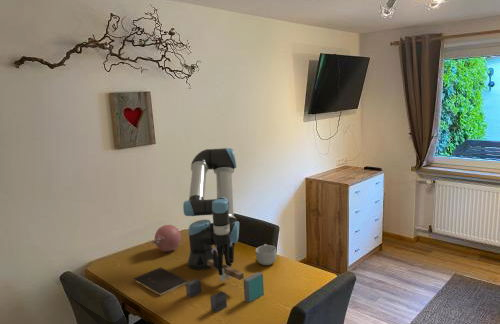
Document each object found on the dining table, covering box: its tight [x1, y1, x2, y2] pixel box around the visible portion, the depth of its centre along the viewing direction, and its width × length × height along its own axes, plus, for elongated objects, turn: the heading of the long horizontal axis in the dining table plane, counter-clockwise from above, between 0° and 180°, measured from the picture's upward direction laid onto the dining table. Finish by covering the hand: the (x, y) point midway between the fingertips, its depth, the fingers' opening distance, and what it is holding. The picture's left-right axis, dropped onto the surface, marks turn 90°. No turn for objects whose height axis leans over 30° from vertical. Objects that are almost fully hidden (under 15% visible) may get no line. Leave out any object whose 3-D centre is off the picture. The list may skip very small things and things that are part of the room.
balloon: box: [151, 224, 182, 252], centre depth 223 cm, size 15×20×15 cm
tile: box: [242, 271, 265, 303], centre depth 168 cm, size 3×9×10 cm, turn 134°
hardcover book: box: [133, 267, 189, 296], centre depth 188 cm, size 16×23×2 cm
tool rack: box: [185, 278, 228, 314], centre depth 168 cm, size 21×6×6 cm, turn 44°
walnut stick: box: [207, 259, 245, 281], centre depth 182 cm, size 24×2×2 cm, turn 44°
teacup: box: [254, 243, 277, 266], centre depth 204 cm, size 14×11×8 cm
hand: (225, 279), depth 183 cm, fingers closed on walnut stick, 2 cm apart
